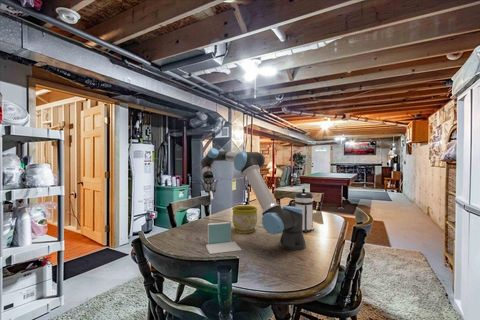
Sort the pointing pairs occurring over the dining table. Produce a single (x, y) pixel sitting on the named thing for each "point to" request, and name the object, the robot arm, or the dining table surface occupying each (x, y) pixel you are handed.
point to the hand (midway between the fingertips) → (212, 199)
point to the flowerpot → (244, 218)
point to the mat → (222, 247)
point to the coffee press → (305, 208)
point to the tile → (219, 232)
